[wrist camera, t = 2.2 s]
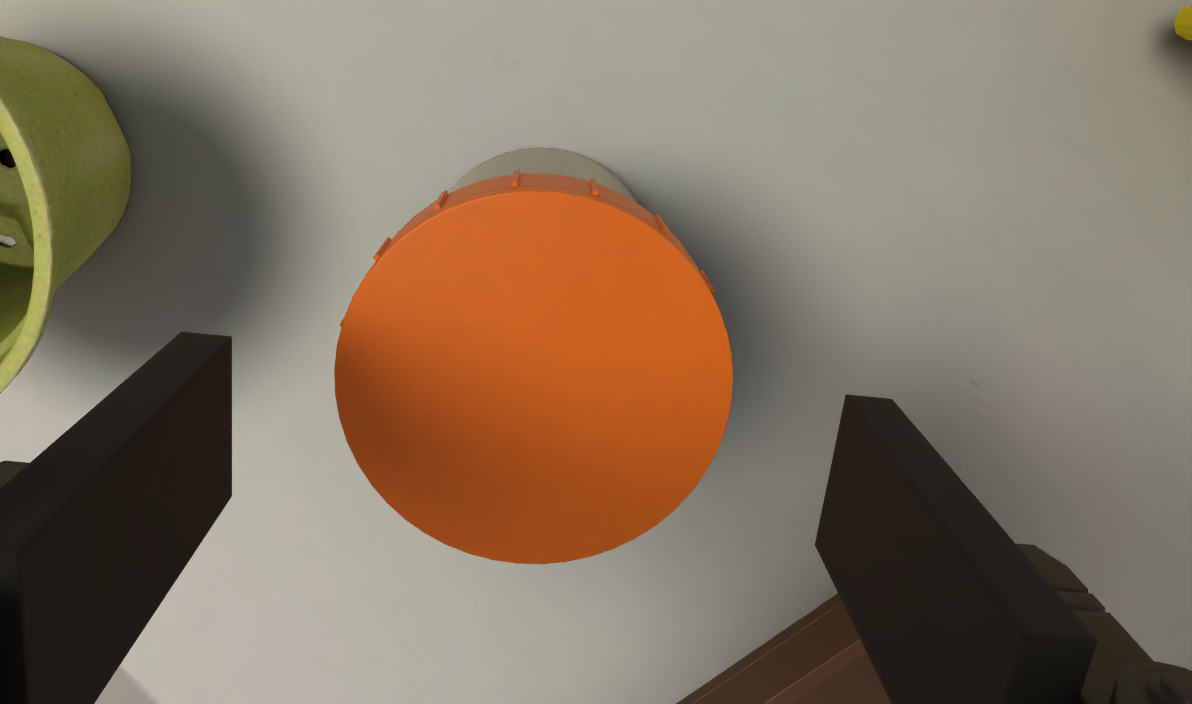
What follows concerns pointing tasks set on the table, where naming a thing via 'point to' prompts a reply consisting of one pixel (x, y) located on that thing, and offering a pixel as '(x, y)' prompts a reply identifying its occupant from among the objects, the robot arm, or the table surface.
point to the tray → (802, 667)
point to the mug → (1184, 23)
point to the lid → (534, 370)
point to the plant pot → (51, 188)
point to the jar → (545, 168)
